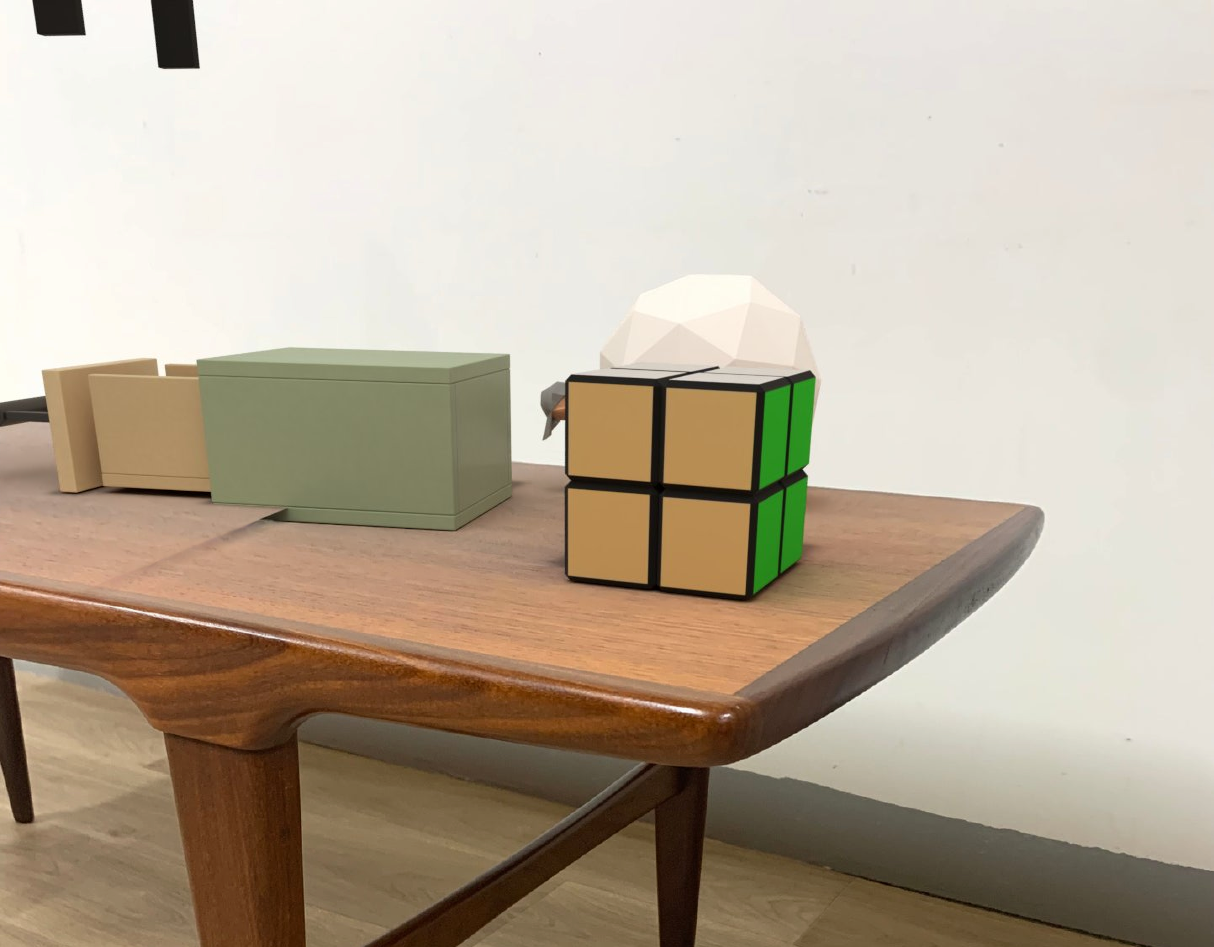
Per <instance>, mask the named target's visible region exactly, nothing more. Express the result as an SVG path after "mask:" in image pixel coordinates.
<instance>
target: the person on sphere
mask: <svg viewBox="0 0 1214 947" xmlns="http://www.w3.org/2000/svg"><path fill="white" fill-rule="evenodd" d="M641 362H643V363H665V364H686V365H707V366H719V367H720V368H725V367H729V366H733V367H754V368H775V369H796V370H811V372H812V373H813V374H814V375H815V377H816V381H815V394H814V407H813V420H812V425H813V424H814V419H815V413H816V410H817V404H818V399H819V394H820V389H821V384H822V379H821V376H820V373H819V372H820V371H819V369H818V366H817V362H816V361H815V357H814V354H813V351H812V347H811V345H810V342H809V338H808V335H807V332H806V328H805V326H804V323H803V319H802V317H801V316H800V315H799V314H798V313H797V312H796V311H794V309H792V308H791V307H790V306H789V305H787V304H786V303H785V302H783V301H782V300H781V299H780V297H777V296H776V295H775V294H774V293H773V292H771V291H770V290H769V289H768V288H766V287H765V286H764V285H763V284H762V283H761V282H760V281H758V280H757V279H756V278H755V277H754V276H752V275H751V274H750V275H748V274H709V273H707V274H705V273H704V274H701V273H700V274H688V275H685V276H683V277H680V278H678V279H676V280H673V281H671V282H668V283H665V284H663V285H660V286H658V287H656V288H652V289H650V290H648V291H645V292H643V293H640V294H639V295H638V297H637V299H636V300H635V301H634V303H633V304H632V305H631V307H630V308H629V310H628V312H627V313H626V314H625V316H624V317H623V318H622V320H621V321H620V322H619V324H618V326H617V327H616V328H615V330H614V331H613V333H612V334H611V335H610V337H609V339H608V340H607V341H606V343H605V344H604V345H603V347H602V348H601V349H600V351H599V370H600V369H606V368H608V369H610V368H612V367H618V366H624V365H630V364H635V363H641ZM539 402H540V407H541V410H542V412H543V414H544V416H545V417H546V421H545V425H544V426H545V427H544V431H543V436H542V441H545V440H548V438H550V437H551V436H552V435H553V434H552V432H553V430H554V429H555V428H556V427H557V426H558V425H559V423H560V422H561V421H565V381H559V380H558V381H556V382H554V383H552V384H551V385H550V386H549V387H547V388H545V389H543V390H542V391H541V392H540V401H539Z"/></svg>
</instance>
